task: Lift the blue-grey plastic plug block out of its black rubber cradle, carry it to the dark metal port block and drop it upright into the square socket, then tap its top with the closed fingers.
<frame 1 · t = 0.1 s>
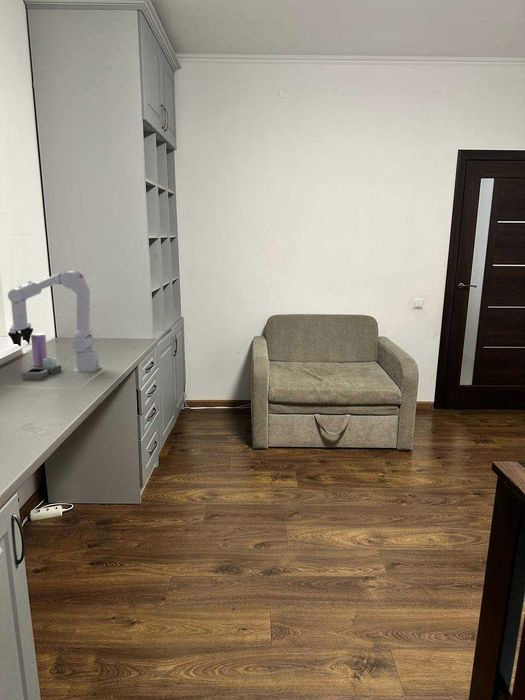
hand: (22, 346, 215), 10 cm above the table, fingers open, 7 cm apart
beverage can: (40, 366, 221), on the table
plug: (50, 372, 209), point 1 cm above the table, touching holster
port: (36, 378, 201), on the table
holster: (50, 373, 209), on the table
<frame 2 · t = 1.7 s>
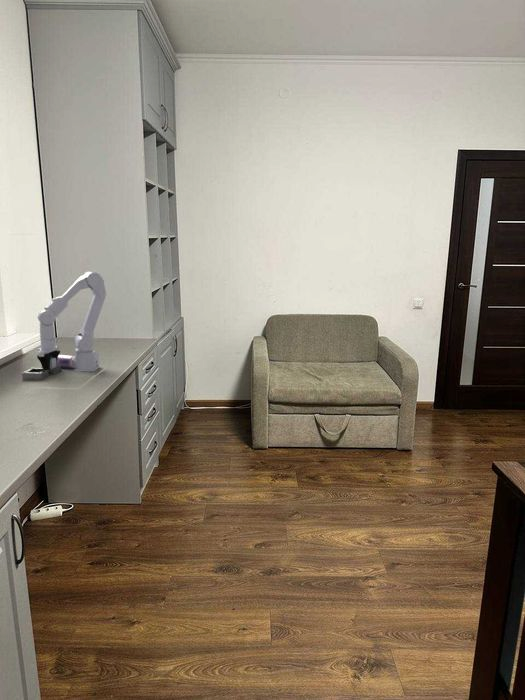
hand: (49, 369, 209), 2 cm above the table, fingers open, 6 cm apart
beverage can: (45, 360, 220), point 3 cm above the table, touching arm
everything else where it was.
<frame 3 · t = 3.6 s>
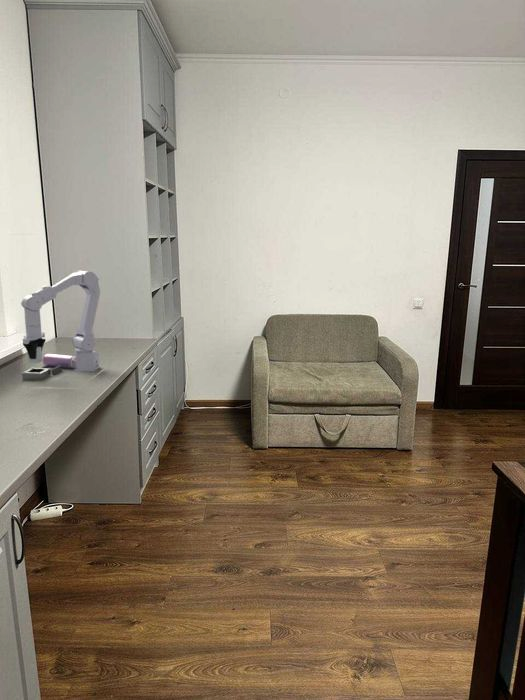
hand: (35, 357, 200), 9 cm above the table, fingers closed on plug, 4 cm apart
plug: (35, 361, 200), point 7 cm above the table, touching gripper
everything else where it was.
when the fingers open (4 cm above the table, at t = 4.9 s): plug drops 2 cm, resting on port.
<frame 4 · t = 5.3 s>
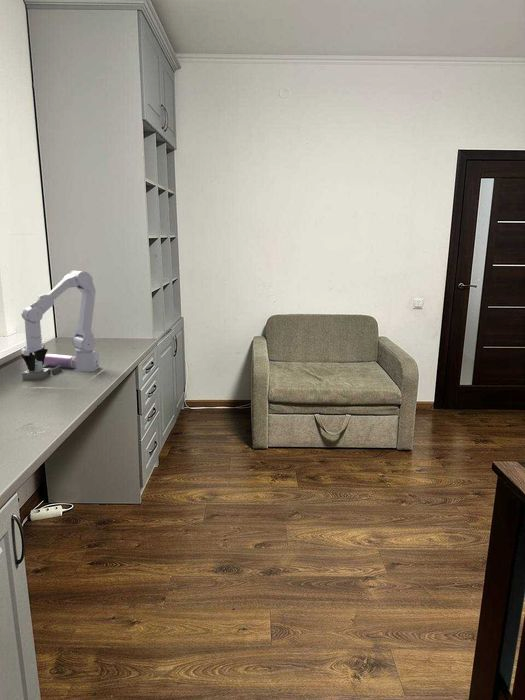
hand: (36, 368, 200), 4 cm above the table, fingers open, 7 cm apart
plug: (36, 376, 201), point 1 cm above the table, touching port
everything else where it was.
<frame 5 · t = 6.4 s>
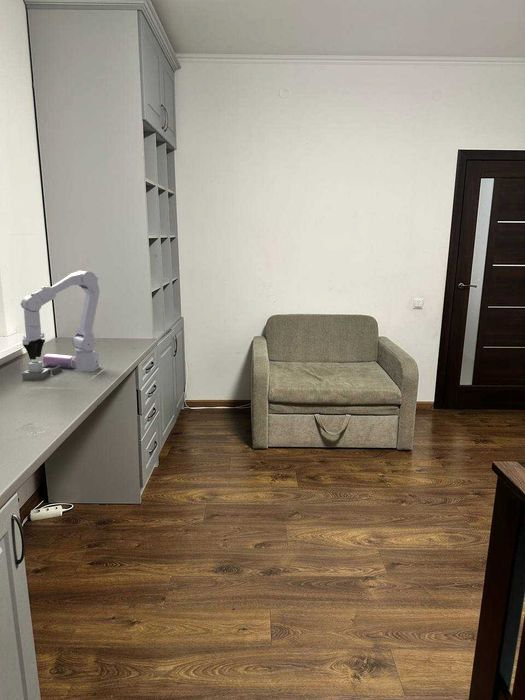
hand: (35, 358, 199), 9 cm above the table, fingers open, 4 cm apart
nothing on the table moved.
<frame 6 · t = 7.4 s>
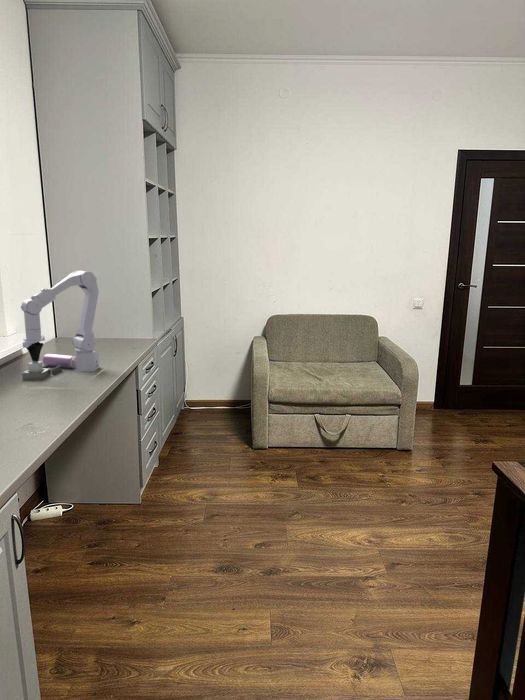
hand: (35, 360, 200), 8 cm above the table, fingers closed
nothing on the table moved.
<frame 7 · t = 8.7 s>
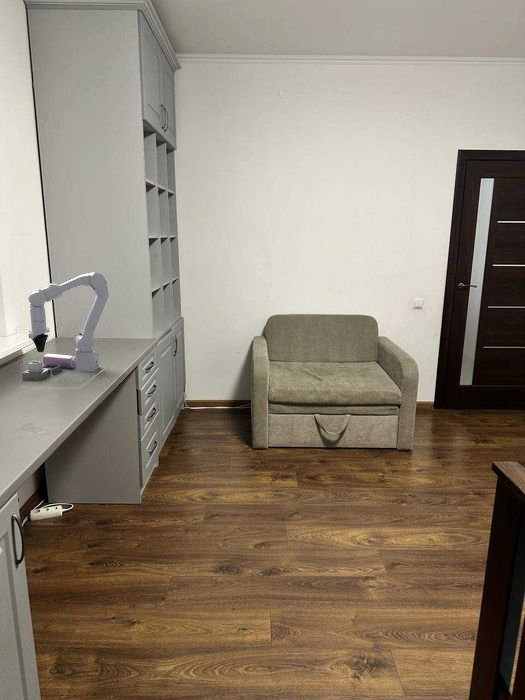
hand: (40, 351, 206), 10 cm above the table, fingers closed
nothing on the table moved.
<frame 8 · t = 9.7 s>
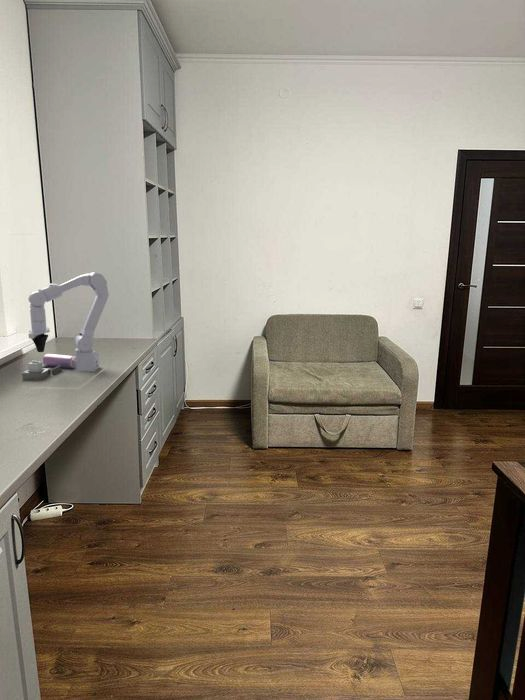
hand: (40, 351, 206), 10 cm above the table, fingers closed
nothing on the table moved.
at the end: plug 0.3 cm off-centre on the port, point 1.0 cm above the port's base; plug tilted 0°; the gripper is holding nothing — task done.
